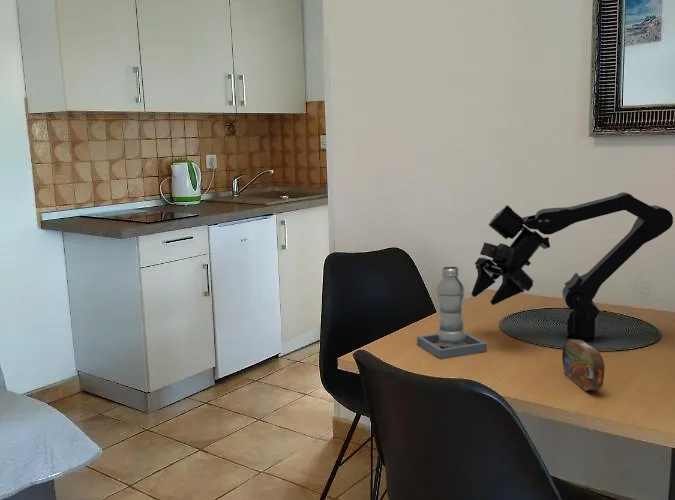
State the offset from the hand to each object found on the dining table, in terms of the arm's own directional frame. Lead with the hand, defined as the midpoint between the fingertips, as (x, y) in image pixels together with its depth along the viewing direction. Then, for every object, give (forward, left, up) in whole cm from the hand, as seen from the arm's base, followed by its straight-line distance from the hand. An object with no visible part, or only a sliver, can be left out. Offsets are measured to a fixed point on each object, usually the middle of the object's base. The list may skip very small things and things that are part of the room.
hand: (481, 299), depth 165 cm
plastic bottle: (+5, +7, -11) cm, 14 cm away
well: (+5, +7, -11) cm, 14 cm away
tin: (-29, +15, -11) cm, 34 cm away
